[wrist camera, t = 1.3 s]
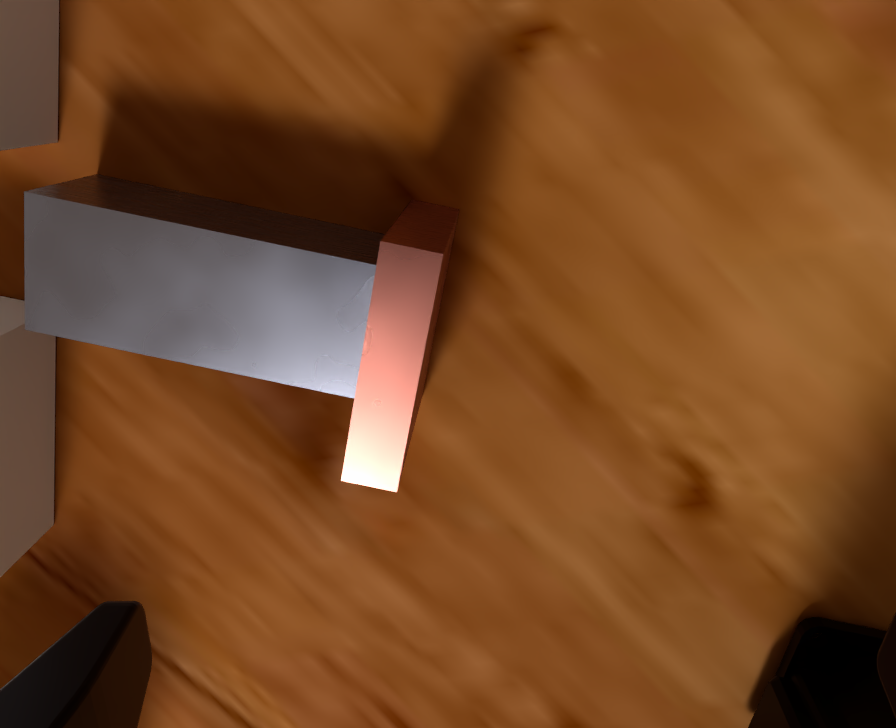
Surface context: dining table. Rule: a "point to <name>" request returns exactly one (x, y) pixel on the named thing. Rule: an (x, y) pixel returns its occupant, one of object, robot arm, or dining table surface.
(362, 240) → the l-shaped block
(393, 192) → the dining table surface
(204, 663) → the dining table surface
